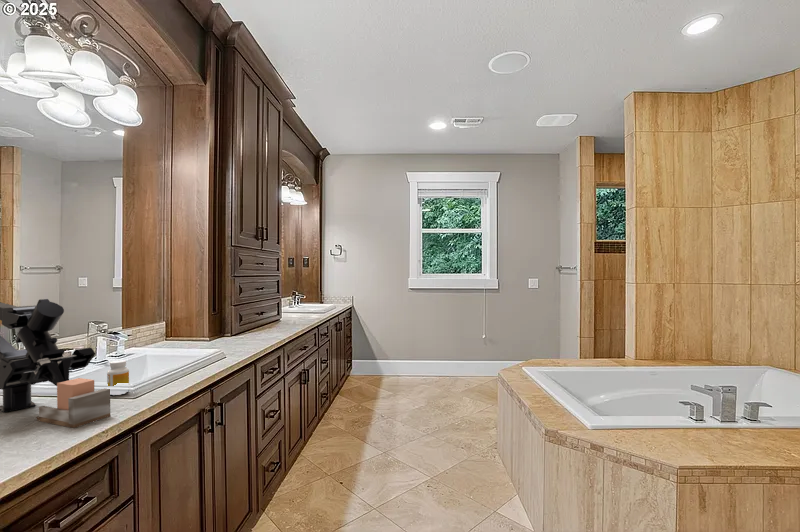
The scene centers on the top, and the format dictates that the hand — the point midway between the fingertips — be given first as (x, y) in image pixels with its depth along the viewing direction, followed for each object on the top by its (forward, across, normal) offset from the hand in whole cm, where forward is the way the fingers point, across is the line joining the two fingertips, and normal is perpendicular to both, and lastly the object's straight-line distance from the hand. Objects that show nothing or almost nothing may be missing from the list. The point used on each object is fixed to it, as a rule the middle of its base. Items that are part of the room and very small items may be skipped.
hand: (66, 389), depth 105 cm
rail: (+8, 0, -2) cm, 8 cm away
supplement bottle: (0, -18, -10) cm, 21 cm away
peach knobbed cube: (+6, 0, -1) cm, 6 cm away
